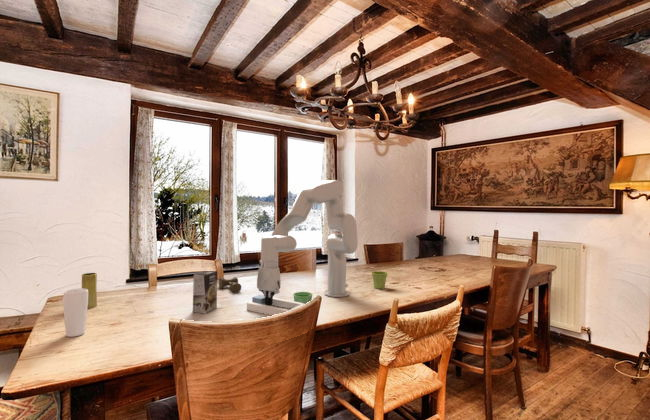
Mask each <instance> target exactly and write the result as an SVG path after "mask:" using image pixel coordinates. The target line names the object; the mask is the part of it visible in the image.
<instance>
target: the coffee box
mask: <svg viewBox="0 0 650 420" xmlns="http://www.w3.org/2000/svg"><path fill="white" fill-rule="evenodd" d="M192 282H193V284H192V288H193V289H192V313H199V314H207V313H208V312H211V311H212V310H215V309H216V308H218V307H217V306H218V304H217V303H218V271H217V270H204V271H200V272H198V273H194V274H193V281H192Z"/></svg>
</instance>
